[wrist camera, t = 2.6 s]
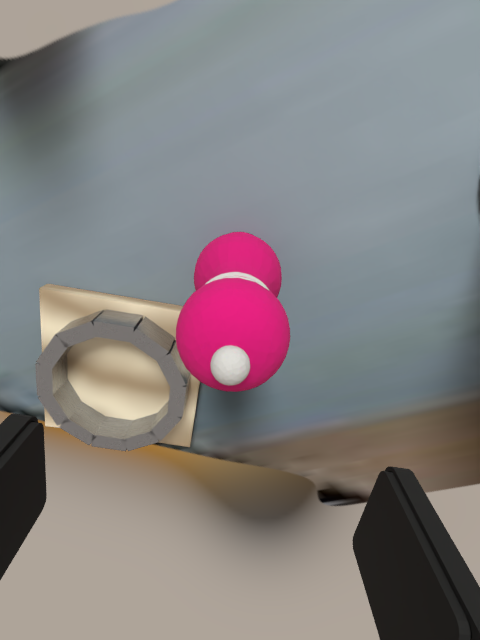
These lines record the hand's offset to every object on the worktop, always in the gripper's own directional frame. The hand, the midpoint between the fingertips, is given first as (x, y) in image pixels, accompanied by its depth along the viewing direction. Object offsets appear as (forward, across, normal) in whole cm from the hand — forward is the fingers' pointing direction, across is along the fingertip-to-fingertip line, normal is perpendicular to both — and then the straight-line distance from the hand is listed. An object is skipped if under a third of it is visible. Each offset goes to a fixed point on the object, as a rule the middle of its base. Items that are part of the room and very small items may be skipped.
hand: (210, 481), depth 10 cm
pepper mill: (+26, 0, 0) cm, 26 cm away
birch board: (+26, +10, +13) cm, 30 cm away
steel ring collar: (+24, +10, +13) cm, 29 cm away
